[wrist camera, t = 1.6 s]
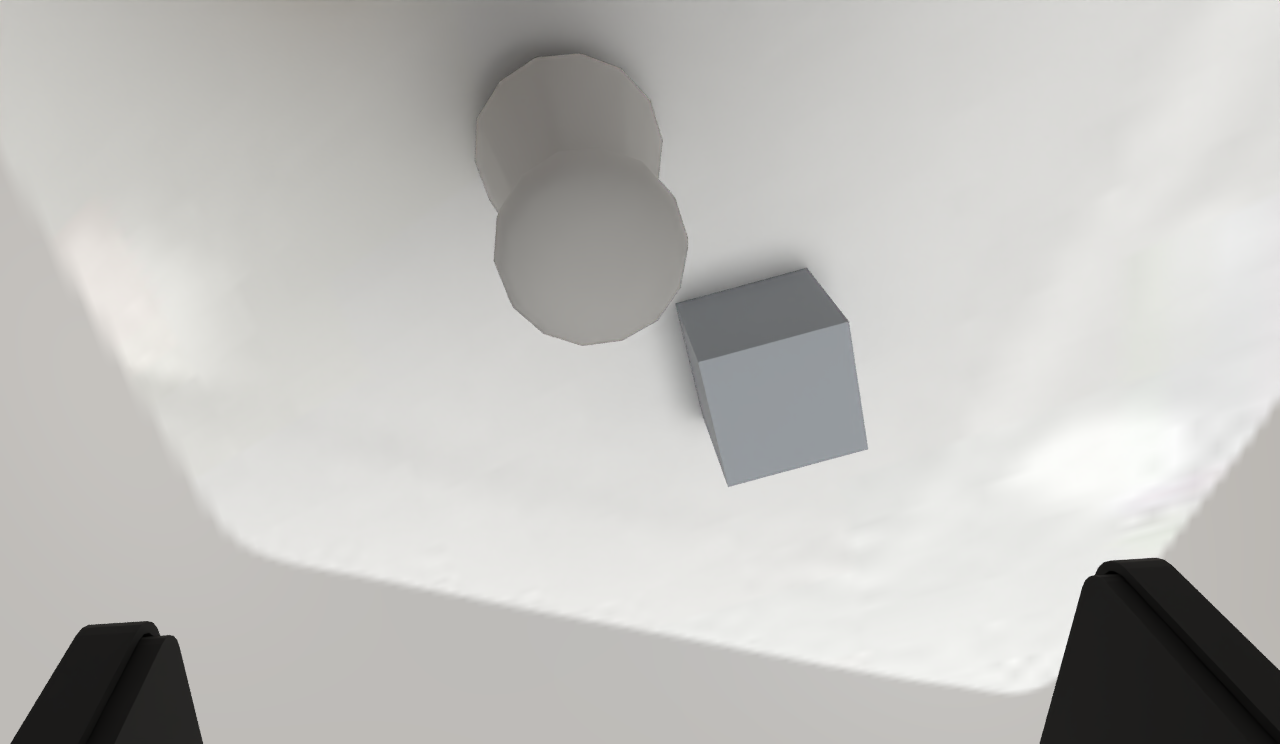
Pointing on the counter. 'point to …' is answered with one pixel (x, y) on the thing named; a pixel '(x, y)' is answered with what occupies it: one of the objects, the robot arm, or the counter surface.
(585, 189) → the salt shaker
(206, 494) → the counter surface
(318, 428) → the counter surface
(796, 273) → the slate-grey block
